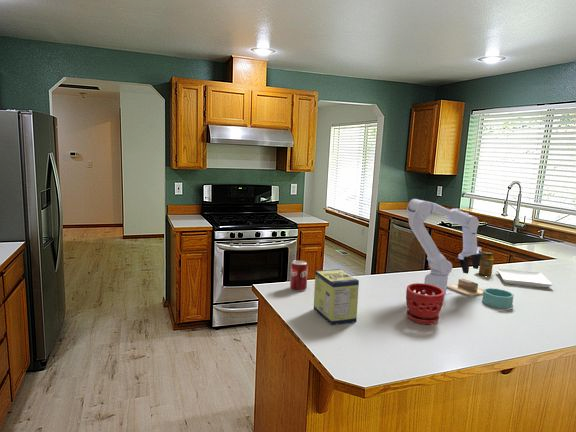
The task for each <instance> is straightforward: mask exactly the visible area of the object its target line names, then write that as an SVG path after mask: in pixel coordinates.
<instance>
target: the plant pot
mask: <svg viewBox="0 0 576 432" xmlns="http://www.w3.org/2000/svg"><path fill="white" fill-rule="evenodd" d="M423 290H425V291H423ZM432 292H434V293H435V295H433V294H432ZM444 299H445V294H444V291H443V290H442V289H441V288H439V287H437V286H434V285H430V284H424V282H423V283H419V282H416V283H411V284H408V285H407V286H406V291H405V302H406V307H407V310H406V316H407V317H408V318H409V319H410V320H411V321H413V322H415V323H419V324H423V325H431V324H436V323H437V322H438V321H439V319H440V315H439V314H440V312H441V310H442V307H443V303H444Z"/></svg>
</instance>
